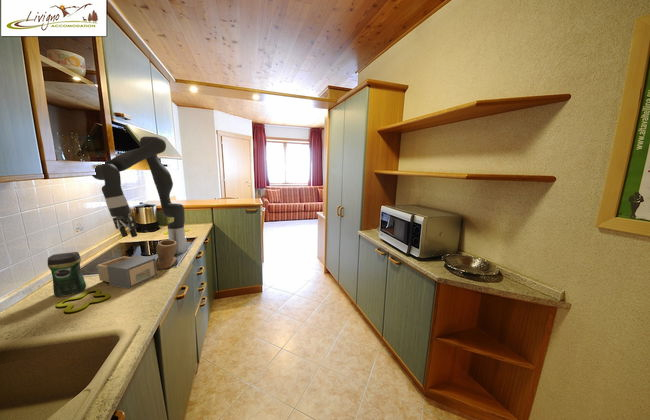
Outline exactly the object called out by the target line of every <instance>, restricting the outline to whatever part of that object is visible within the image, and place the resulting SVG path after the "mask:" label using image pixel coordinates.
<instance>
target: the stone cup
mask: <svg viewBox="0 0 650 420" xmlns="http://www.w3.org/2000/svg"><path fill="white" fill-rule="evenodd" d="M176 248H177V243H176V242H175V241H173V240H169V239H162V240H160V241H158V243H157V245H156V254H157V256H158V259H157V260H156V261H155V262H156V270H163V269H169V268H171V267H173V265H174V264H175V263H176V261H177V259H178V257H177V256H175V255H176V254H175V251H176Z"/></svg>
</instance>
